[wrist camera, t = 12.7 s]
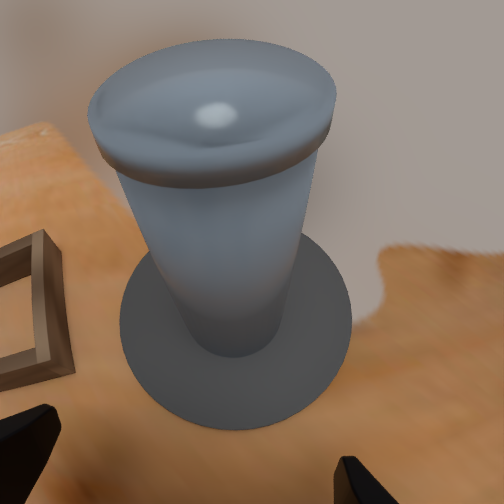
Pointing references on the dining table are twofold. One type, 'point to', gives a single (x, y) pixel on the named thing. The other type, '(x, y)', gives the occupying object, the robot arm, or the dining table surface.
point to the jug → (218, 175)
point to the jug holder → (38, 312)
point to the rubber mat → (243, 368)
